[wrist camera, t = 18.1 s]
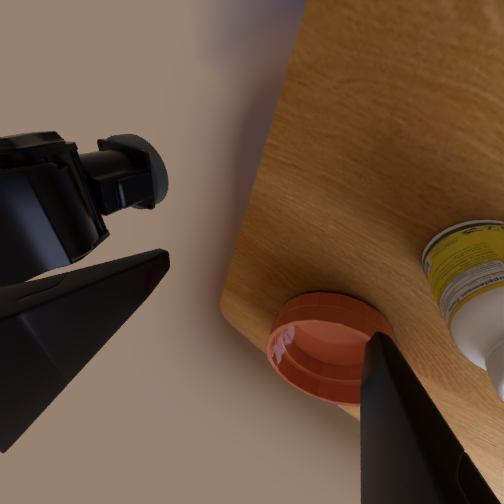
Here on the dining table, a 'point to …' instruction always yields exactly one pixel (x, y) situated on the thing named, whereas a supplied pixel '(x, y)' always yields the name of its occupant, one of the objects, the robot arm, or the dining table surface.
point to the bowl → (324, 344)
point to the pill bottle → (471, 290)
